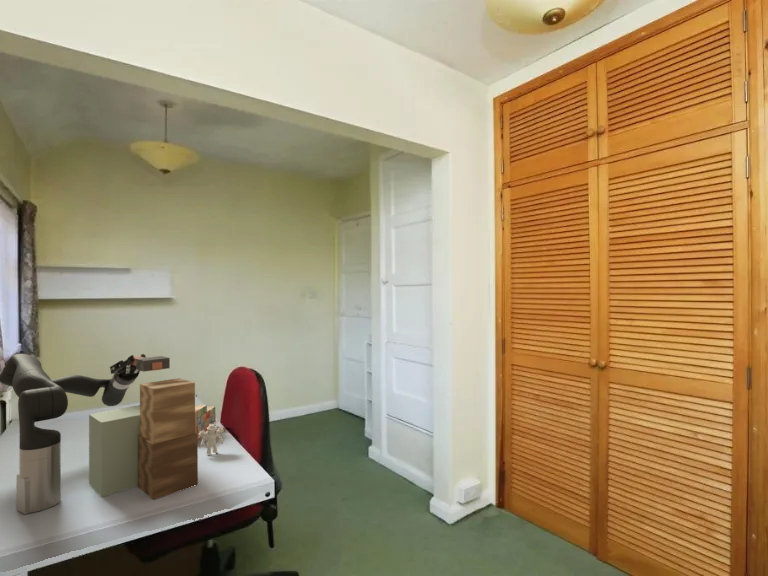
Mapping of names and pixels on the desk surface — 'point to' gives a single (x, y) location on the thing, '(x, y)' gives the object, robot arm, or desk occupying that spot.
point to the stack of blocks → (204, 418)
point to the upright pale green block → (114, 450)
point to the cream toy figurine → (211, 437)
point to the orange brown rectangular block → (151, 363)
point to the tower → (167, 438)
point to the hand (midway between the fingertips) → (138, 357)
